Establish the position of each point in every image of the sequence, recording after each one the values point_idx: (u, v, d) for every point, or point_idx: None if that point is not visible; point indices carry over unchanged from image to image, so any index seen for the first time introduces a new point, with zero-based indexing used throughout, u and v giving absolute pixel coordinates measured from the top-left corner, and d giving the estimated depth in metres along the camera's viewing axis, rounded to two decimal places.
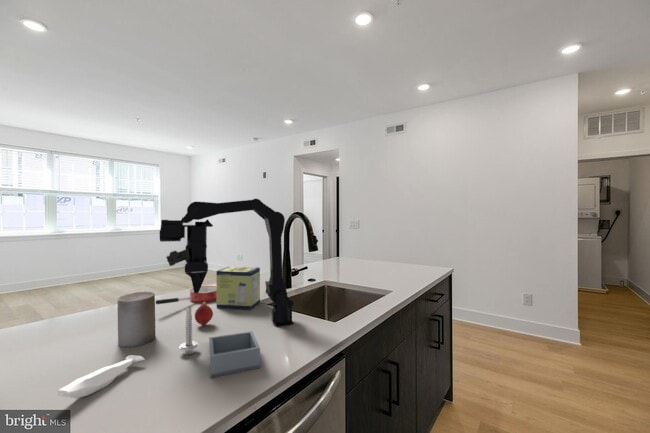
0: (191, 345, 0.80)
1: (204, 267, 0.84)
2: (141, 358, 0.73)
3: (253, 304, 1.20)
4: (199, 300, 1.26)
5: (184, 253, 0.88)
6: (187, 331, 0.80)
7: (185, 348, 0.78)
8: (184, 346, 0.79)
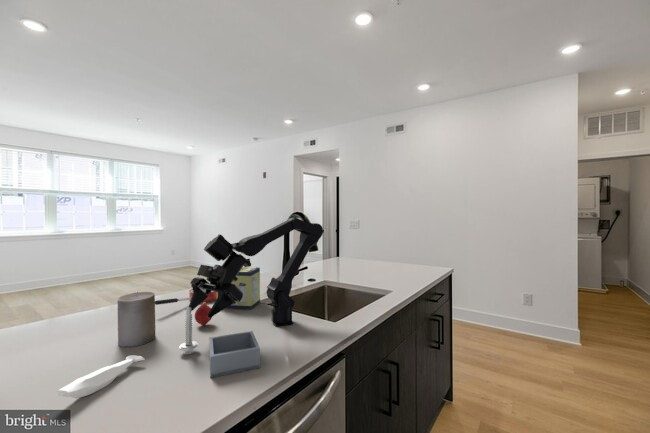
0: (191, 345, 0.80)
1: (241, 297, 0.84)
2: (141, 358, 0.73)
3: (253, 304, 1.20)
4: None
5: None
6: (187, 331, 0.80)
7: (185, 348, 0.78)
8: (184, 346, 0.79)
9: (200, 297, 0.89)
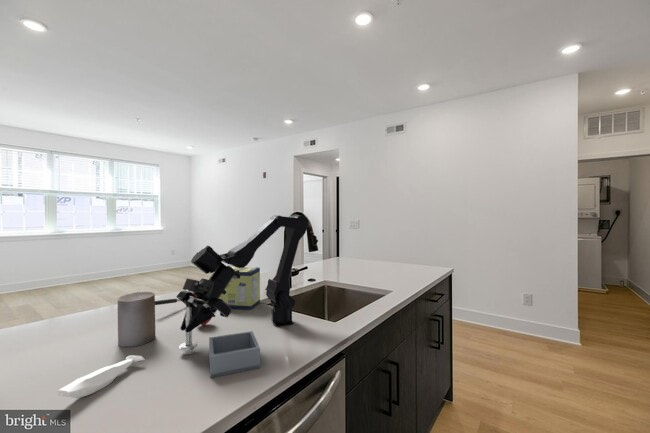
0: (191, 345, 0.80)
1: (229, 312, 0.81)
2: (141, 358, 0.73)
3: (253, 304, 1.20)
4: None
5: None
6: None
7: (185, 348, 0.78)
8: (184, 346, 0.79)
9: (194, 314, 0.83)
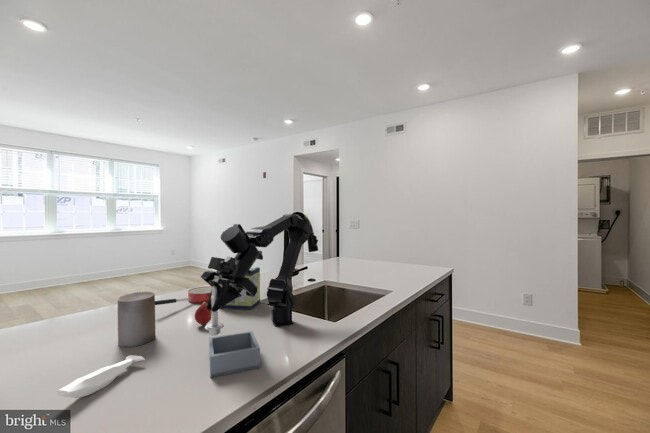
0: (217, 325, 0.77)
1: (255, 292, 0.78)
2: (141, 358, 0.73)
3: (253, 304, 1.20)
4: (197, 301, 1.25)
5: None
6: None
7: (211, 328, 0.76)
8: (210, 326, 0.76)
9: (219, 294, 0.81)
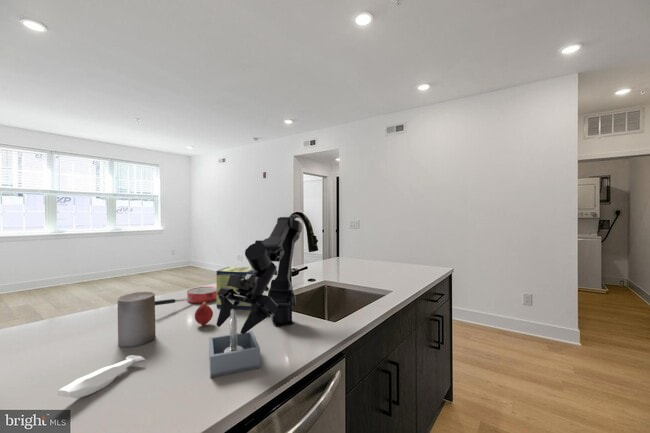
0: (236, 350, 0.75)
1: (276, 310, 0.76)
2: (141, 358, 0.73)
3: None
4: (196, 301, 1.25)
5: None
6: (232, 335, 0.75)
7: None
8: (229, 351, 0.74)
9: (229, 310, 0.80)
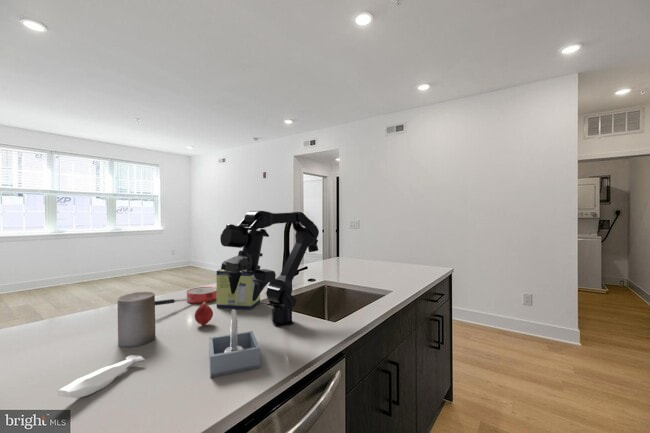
0: (237, 350, 0.75)
1: (274, 276, 0.90)
2: (141, 358, 0.73)
3: (253, 304, 1.20)
4: (196, 301, 1.25)
5: (247, 261, 0.89)
6: (232, 335, 0.75)
7: None
8: (230, 351, 0.74)
9: (236, 278, 0.95)
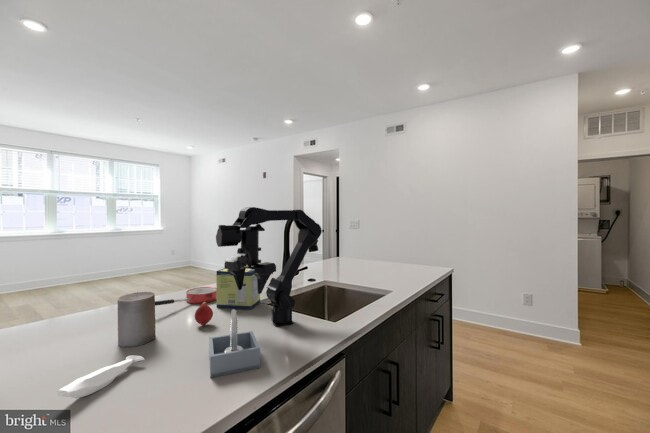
0: (237, 350, 0.75)
1: (275, 268, 0.93)
2: (141, 358, 0.73)
3: (253, 304, 1.20)
4: (195, 301, 1.24)
5: (246, 257, 0.91)
6: (232, 335, 0.75)
7: None
8: (230, 351, 0.74)
9: (240, 274, 0.99)
